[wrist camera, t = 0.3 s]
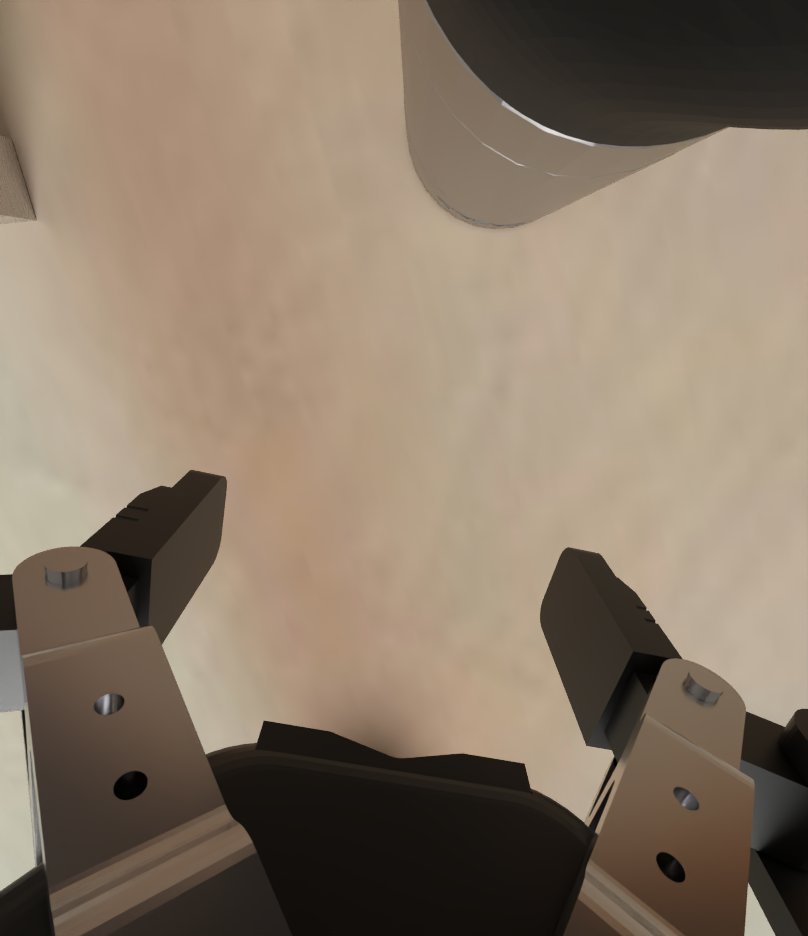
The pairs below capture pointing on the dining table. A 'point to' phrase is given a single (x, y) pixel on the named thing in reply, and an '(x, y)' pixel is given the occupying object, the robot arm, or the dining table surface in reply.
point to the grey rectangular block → (12, 187)
